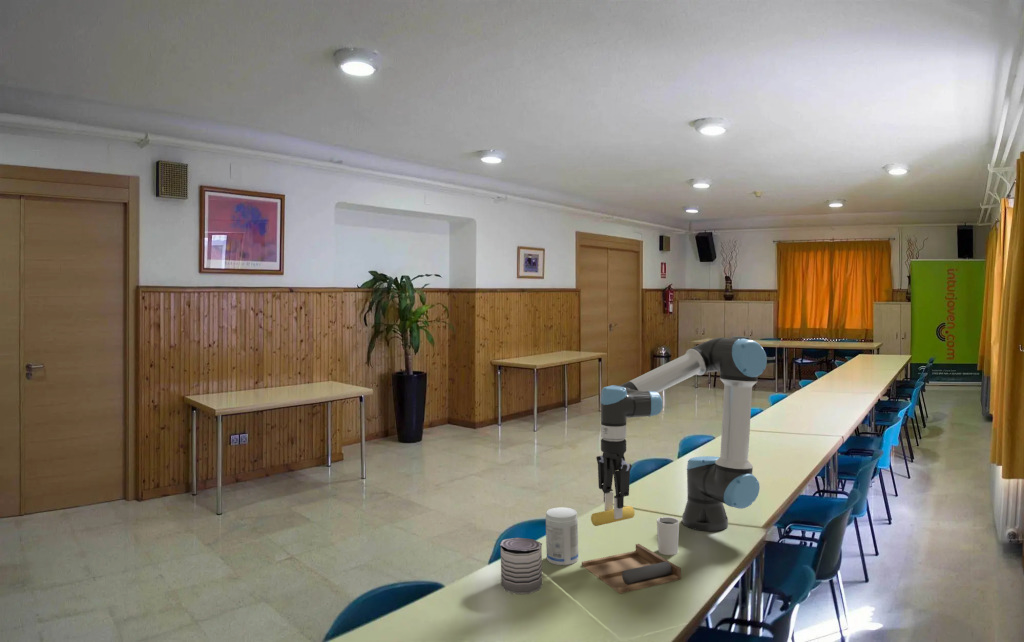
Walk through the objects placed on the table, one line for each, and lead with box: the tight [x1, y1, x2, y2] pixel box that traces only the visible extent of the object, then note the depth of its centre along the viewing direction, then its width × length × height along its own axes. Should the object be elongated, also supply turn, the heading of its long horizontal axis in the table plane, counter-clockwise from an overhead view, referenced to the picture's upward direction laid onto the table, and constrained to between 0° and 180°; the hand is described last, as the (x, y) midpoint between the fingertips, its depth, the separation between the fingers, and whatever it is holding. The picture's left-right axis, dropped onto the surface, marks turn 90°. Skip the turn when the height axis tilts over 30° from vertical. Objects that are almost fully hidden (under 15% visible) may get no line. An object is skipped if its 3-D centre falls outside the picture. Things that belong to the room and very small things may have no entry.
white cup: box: [656, 516, 680, 556], centre depth 199 cm, size 7×7×10 cm
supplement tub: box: [545, 506, 579, 566], centre depth 195 cm, size 10×10×15 cm
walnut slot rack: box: [581, 543, 682, 594], centre depth 185 cm, size 20×20×3 cm
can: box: [499, 537, 543, 595], centre depth 178 cm, size 11×11×12 cm
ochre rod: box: [590, 505, 636, 527], centre depth 195 cm, size 14×4×4 cm
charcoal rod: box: [622, 560, 672, 584], centre depth 180 cm, size 14×4×4 cm, turn 114°
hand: (613, 516), depth 195 cm, fingers closed on ochre rod, 3 cm apart
